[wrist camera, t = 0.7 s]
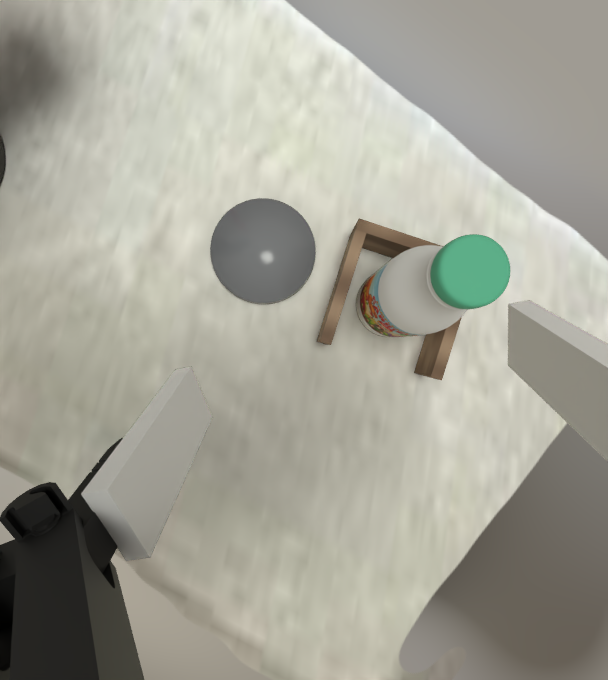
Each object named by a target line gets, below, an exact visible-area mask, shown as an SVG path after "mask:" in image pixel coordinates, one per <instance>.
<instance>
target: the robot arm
mask: <svg viewBox="0 0 608 680" xmlns="http://www.w3.org/2000/svg"><path fill="white" fill-rule="evenodd" d="M4 166H5V153H4V146H3V142H2V139H1V136H0V182H1V180H2V176H3V172H4ZM508 366H509V367H510V368H511V369H512V370H513V371H514V372H515V373H516V374H517V375H518V376H519V377H520V378H521V379H523V380H524V381H525V382H526V383H527V384H528V385H529V386H530V387H531V388H532V389H533V390H534V391H535V392H536V393H537V394H538V395H539V396H540V397H541V398H542V399H543V400H544V401H545V402H546V403H547V404H548V405H549V406H551V407H552V408H553V409H554V410H555V411H556V412H557V413H558V414H559V415H560V416H561V417H562V418H563V419H564V420H565V421H566V422H567V423H568V424H569V425H570V426H571V427H573V429H574V430H575V431H576V432H577V433H578V434H580V435H581V436H582V437H583V438H584V439H585V440H586V441H587V442H588V443H589V444H590V445H591V446H592V447H593V448H594V449H595V450H596V451H597V452H598V453H599V454H600V455H601V456H602V457H603V458H604V459H605V460H606V461H608V344H607V343H606V342H604V341H602V340H600V339H598V338H597V337H595V336H593V335H591V334H589V333H588V332H586V331H584V330H582V329H580V328H579V327H577V326H575V325H573V324H572V323H570V322H568V321H566V320H564V319H563V318H561V317H559V316H557V315H555V314H554V313H552V312H550V311H548V310H546V309H545V308H543V307H541V306H539V305H538V304H536V303H534V302H532V301H530V300H527V301H521V302H516V303H511V304H508ZM211 420H212V414H211V412H210V410H209V407H208V405H207V402H206V400H205V397H204V395H203V393H202V390H201V388H200V385H199V383H198V381H197V378H196V376H195V373H194V371H193V369H192V366H190V367H185V368H180V369H175V370H174V372H173V373H172V374H171V376H170V377H169V378H168V380H167V381H166V382H165V384H164V385H163V386H162V388H161V389H160V390H159V392H158V393H157V394H156V395H155V397H154V398H153V399H152V401H151V402H150V403H149V405H148V406H147V407H146V409H145V410H144V411H143V413H142V414H141V415H140V417H139V418H138V419H137V421H136V422H135V423H134V425H133V426H132V427H131V428H130V430H129V431H128V432H127V434H126V435H125V436H124V438H121V439H120V440H118V441H117V442H116V443H115V444H114V445H112V446H111V447H110V448H109V449H108V450H107V451H106V453H105V454H104V455H103V456H102V458H101V459H100V460H99V463H97V464H96V465H95V467H94V468H93V469H92V472H90V473H89V474H88V476H87V477H86V478H85V479H84V481H83V482H82V483H81V484H80V486H79V487H78V488H77V490H76V491H75V492H74V493H73V495H72V496H71V497H70V499H69V500H67V499H66V497H65V496H64V494H63V493H62V491H61V490H60V489H59V487H58V486H57V484H56V483H51V482H49V483H44V484H40V485H38V486H36V487H34V488H32V489H30V490H28V491H26V492H25V493H23V494H22V495H20V496H19V497H17V498H16V499H15V500H14V501H13V502H12V503H10V504H9V505H8V506H7V508H6V509H5V510H4V511H3V512H2V514H1V517H0V521H1V523H2V524H3V525H4V526H5V527H6V529H7V530H8V531H9V532H10V533H11V535H12V536H13V537H14V538H15V540H12V541H9V542H7V543H4V544H2V545H0V680H144V676H143V673H142V669H141V665H140V661H139V658H138V653H137V649H136V645H135V642H134V638H133V634H132V630H131V626H130V622H129V618H128V614H127V611H126V607H125V603H124V599H123V595H122V591H121V587H120V584H119V580H118V576H117V572H116V568H115V567H114V565H113V564H112V562H111V561H110V560H111V558H112V556H113V554H114V553H115V551H116V549H117V548H118V549H119V551H120V552H121V554H122V555H123V557H124V558H125V560H126V561H128V560H136V559H144V558H150V557H151V555H152V552H153V550H154V548H155V546H156V543H157V541H158V539H159V537H160V534H161V532H162V530H163V528H164V525H165V523H166V521H167V519H168V516H169V514H170V512H171V510H172V507H173V505H174V503H175V501H176V498H177V496H178V494H179V492H180V489H181V487H182V485H183V483H184V480H185V478H186V476H187V474H188V471H189V469H190V467H191V465H192V462H193V460H194V458H195V456H196V453H197V451H198V449H199V447H200V444H201V442H202V440H203V438H204V435H205V433H206V431H207V429H208V426H209V424H210V422H211Z"/></svg>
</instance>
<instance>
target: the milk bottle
mask: <svg viewBox="0 0 608 680" xmlns="http://www.w3.org/2000/svg"><path fill="white" fill-rule="evenodd" d="M509 278H510V264H509V260H508V257H507V255H506V253H505V251H504V250H503V248H502V247H501V246H500V245H499V244H498V243H497V242H496V241H494V240H493V239H491V238H489V237H486V236H483V235H465V236H461V237H459V238H456V239H454V240H453V241H451V242H449V243H448V244H446V245H445V246H443V247H442V246H435V245H425V246H418V247H414V248H411V249H409V250H406V251H404V252H402V253H400V254H399V255H397V256H396V257H394V258H393V259H391V260H390V261H389V262H388V263H386V264H385V265H384V266H383V267H381V268H380V269H379V270H378V271H377V272H375V273H374V274H373V275H372V276H371V277H369V278H368V279H367V280H366V281H365V282H364V284H363V285H362V286H361V288H360V290H359V292H358V295H357V301H356V308H357V313H358V316H359V318H360V320H361V322H362V323H363V325H364V326H365V327H366V328H367V329H368V330H370V331H371V332H373V333H375V334H377V335H380V336H384V337H404V336H418V335H426V334H432V333H436V332H439V331H441V330H444V329H446V328H448V327H450V326H451V325H453V324H454V323H455V322H457V321H458V320H459V319H460V318H461V317H462V316H463V315H464V313H465V312H466V311H467V310H468V309H474V308H479V307H483V306H486V305H488V304H490V303H492V302H493V301H495V300H496V299H497V298H498V297H499V296H500V295H501V294H502V293H503V292H504V290H505V289H506V287H507V284H508V282H509Z"/></svg>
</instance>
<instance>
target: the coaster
mask: <svg viewBox="0 0 608 680" xmlns="http://www.w3.org/2000/svg"><path fill="white" fill-rule="evenodd" d="M210 250H211V261H212V265H213V268H214V270H215V273H216V275H217V276H218V278H219V280H220V281H221V282H222V284H223V285H224V286H225V287H226V288H227V289H228V290H229V291H230V292H232V293H233V294H234V295H236V296H237V297H239V298H241V299H243V300H246V301H248V302H252V303H258V304H271V303H276V302H280V301H283V300H285V299H287V298H289V297H291V296H292V295H294V294H295V293H296V292H298V291H299V290H300V289H301V288H302V287H303V285H304V284H305V283H306V281H307V280H308V278H309V276H310V274H311V271H312V269H313V265H314V261H315V241H314V237H313V234H312V231H311V229H310V227H309V225H308V224H307V222H306V220H305V219H304V218H303V217H302V216H301V215H300V214H299V213H298V212H297V211H296V210H295V209H293V208H292V207H291V206H289V205H287V204H285V203H283V202H280V201H277V200H273V199H252V200H248V201H245V202H243V203H240V204H238V205H236V206H235V207H233V208H232V209H230V210H229V211H228V212H227V213H226V214H225V215H224V216H223V217H222V218H221V220H220V221H219V223H218V224H217V226H216V228H215V230H214V233H213V236H212V240H211V247H210Z"/></svg>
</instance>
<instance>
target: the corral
mask: <svg viewBox="0 0 608 680" xmlns="http://www.w3.org/2000/svg"><path fill="white" fill-rule="evenodd" d="M425 245H435V246H440V245H437V244H434V243H431V242H428V241H425V240H422V239H419V238H416V237H413V236H410V235H407V234H404V233H401V232H398V231H395V230H392V229H389V228H386V227H383V226H380V225H377V224H374V223H371V222H368V221H365V220H362V219H359V220H358V221H357V223H356V225H355V227H354V229H353V231H352V233H351V235H350V238H349V241H348V245H347V248H346V251H345V254H344V257H343V260H342V263H341V266H340V270H339V273H338V276H337V279H336V282H335V285H334V288H333V291H332V295H331V298H330V301H329V304H328V307H327V310H326V313H325V317H324V320H323V323H322V326H321V329H320V332H319V335H318V338H317V342H320V343H323V344H327V345H331V343H332V340H333V337H334V334H335V330H336V327H337V324H338V321H339V318H340V315H341V312H342V308H343V305H344V302H345V299H346V296H347V293H348V290H349V286H350V283H351V280H352V277H353V274H354V271H355V268H356V264H357V261H358V258H359V255H360V252H361V249H362V248H364V249H367V250H370V251H373V252H376V253H379V254H382V255H385V256H388V257H391V258H394V257H396V256H397V255H399V254H400V253H402V252H404V251H406V250H409V249H411V248H414V247H418V246H425ZM442 247H443V246H442ZM460 320H461V318H460V319H459V320H458V321H457V322H455V323H454V324H453V325H451V326H450V327H448V328H446V329H444V330H441V331H439V332H436V333H432V334H426V337H425V340H424V343H423V346H422V349H421V352H420V356H419V359H418V362H417V365H416V368H415V372H414V373H417V374H420V375H423V376H427V377H431V378H435V379H439V380H442V378H443V375H444V371H445V368H446V365H447V362H448V359H449V356H450V352H451V349H452V346H453V343H454V340H455V336H456V333H457V330H458V327H459V324H460Z"/></svg>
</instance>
